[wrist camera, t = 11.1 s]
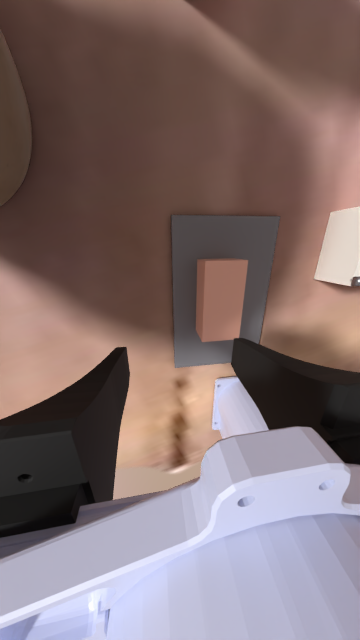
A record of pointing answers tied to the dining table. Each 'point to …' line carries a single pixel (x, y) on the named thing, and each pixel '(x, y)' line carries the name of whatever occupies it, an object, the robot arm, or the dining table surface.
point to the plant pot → (12, 126)
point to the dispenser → (341, 249)
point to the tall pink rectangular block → (220, 298)
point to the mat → (219, 243)
